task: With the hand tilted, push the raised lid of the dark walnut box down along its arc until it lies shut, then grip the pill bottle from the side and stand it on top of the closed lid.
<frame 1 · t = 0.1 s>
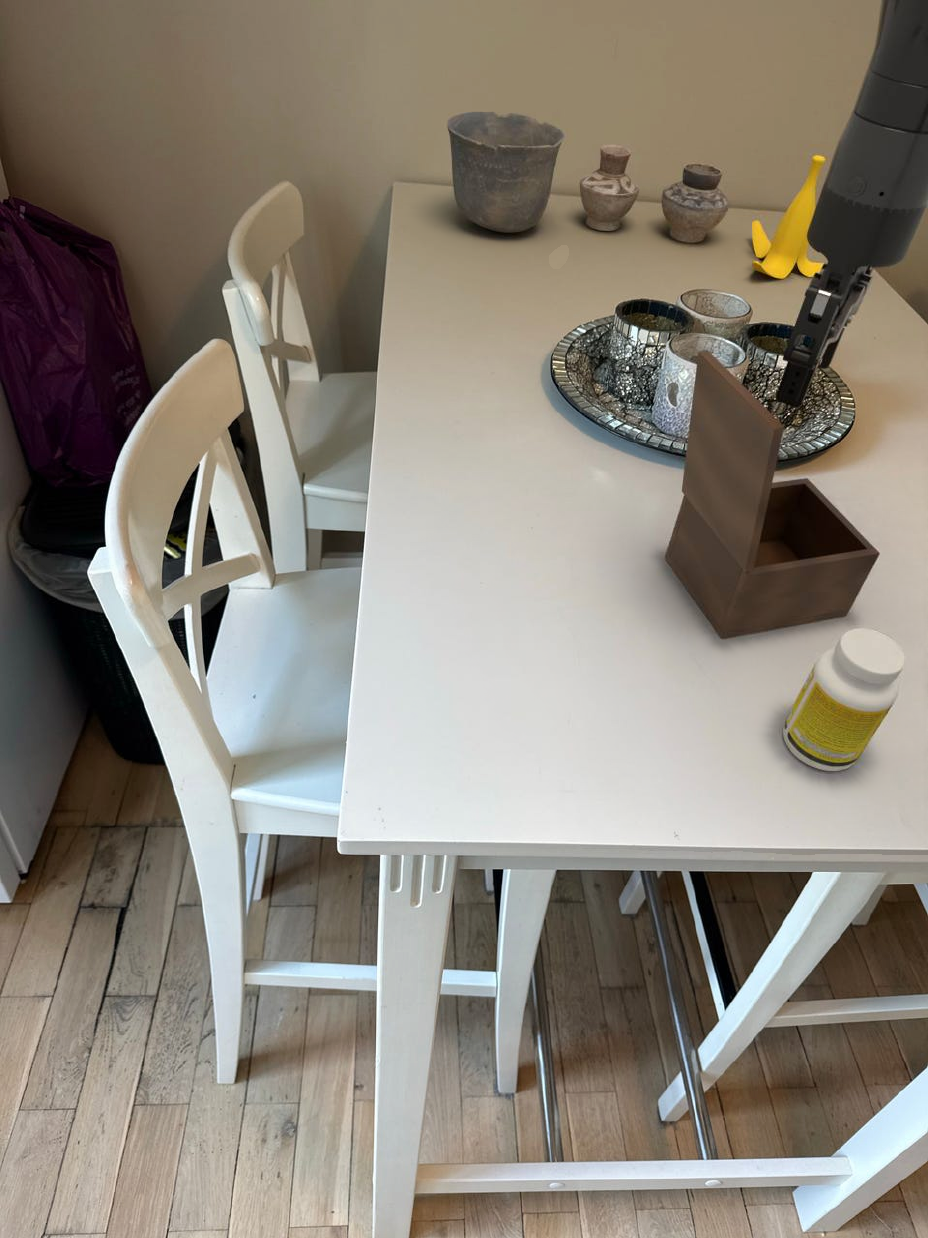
hand: (802, 382, 76), 19 cm above the table, tool pointing down, fingers open, 8 cm apart
pottery: (645, 232, 150), on the table
pill bottle: (817, 744, 72), on the table
banana peel: (775, 271, 142), on the table
chest: (753, 586, 86), on the table
bowl: (494, 228, 146), on the table
lid: (726, 462, 73), point 15 cm above the table, hinge at 100.0°
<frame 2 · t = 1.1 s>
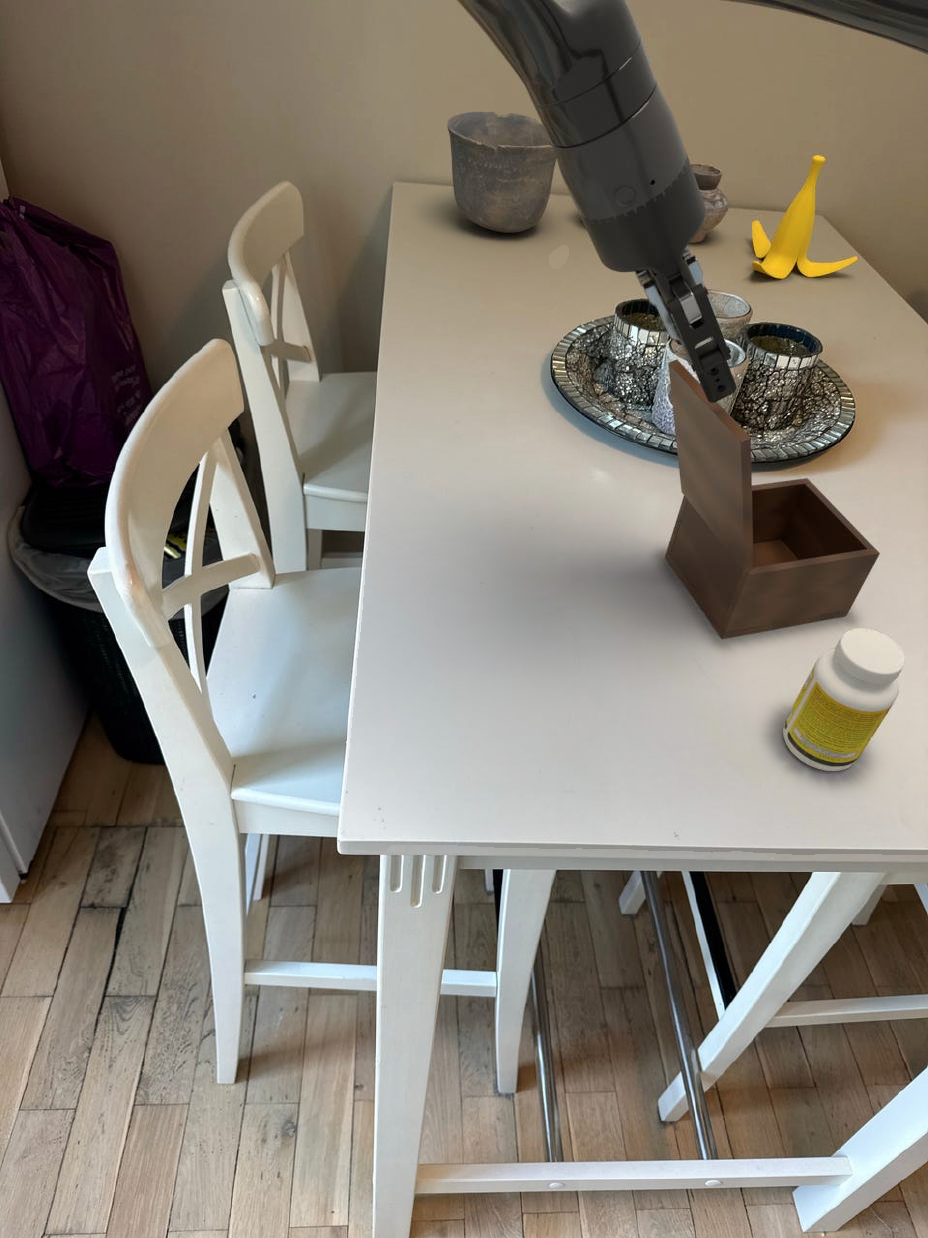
hand: (705, 365, 68), 23 cm above the table, tool tilted 35°, fingers open, 8 cm apart
lid: (711, 468, 73), point 15 cm above the table, hinge at 110.5°
everything else where it was.
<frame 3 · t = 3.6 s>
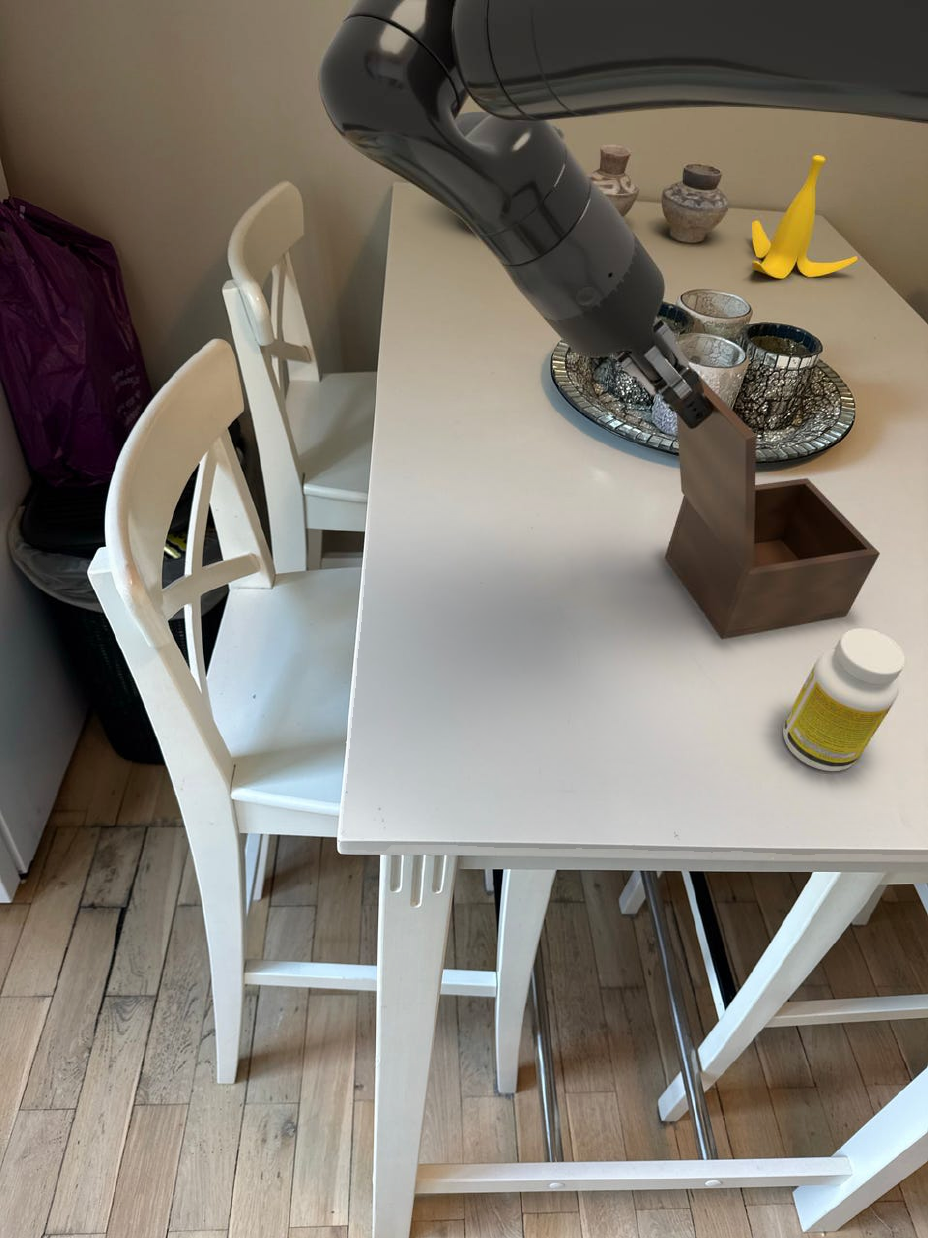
hand: (698, 415, 68), 20 cm above the table, tool tilted 45°, fingers closed
lid: (714, 467, 73), point 15 cm above the table, hinge at 108.8°, touching gripper
everything else where it was.
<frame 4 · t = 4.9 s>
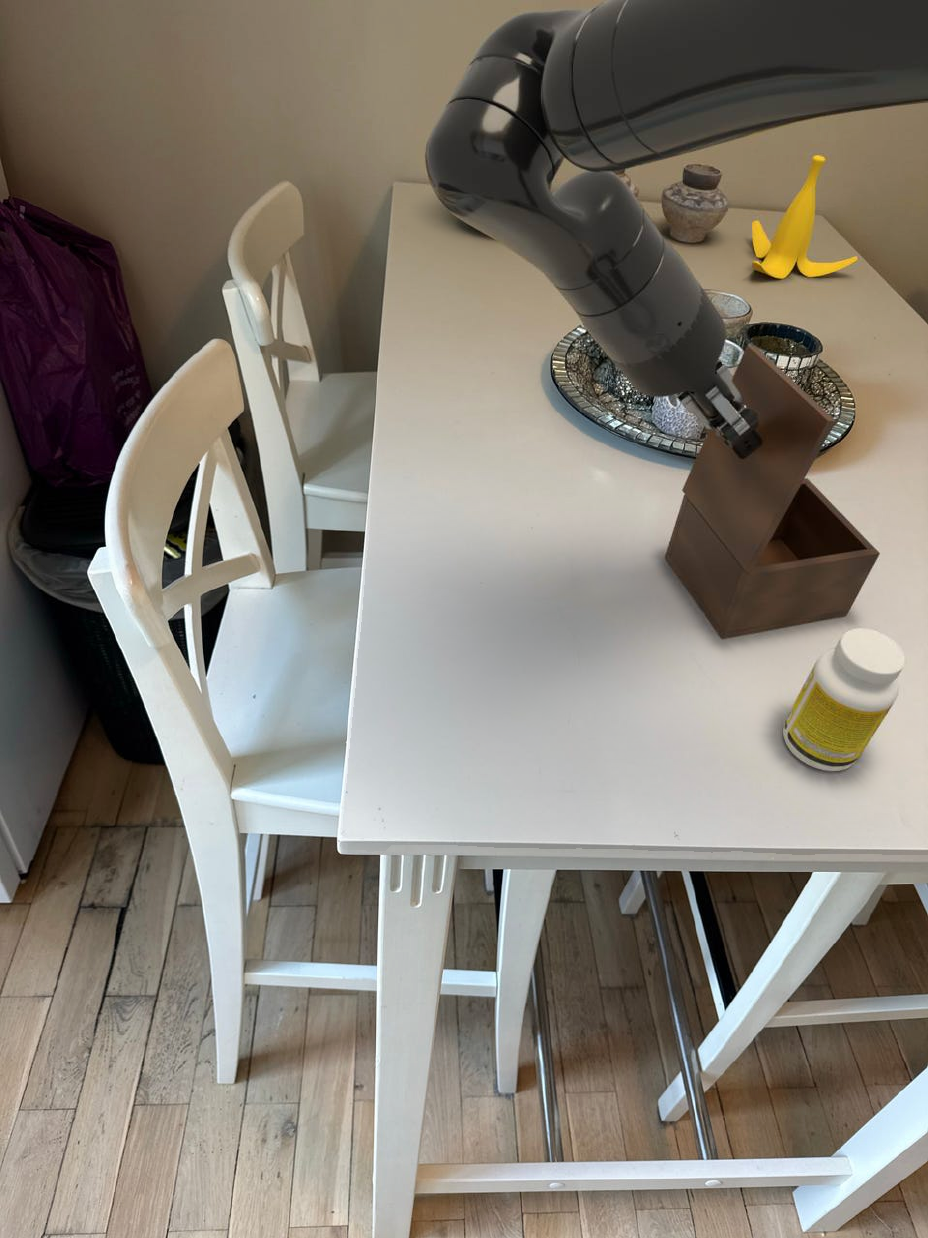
hand: (748, 446, 72), 17 cm above the table, tool tilted 45°, fingers closed
lid: (750, 459, 73), point 15 cm above the table, hinge at 82.1°, touching gripper
everything else where it was.
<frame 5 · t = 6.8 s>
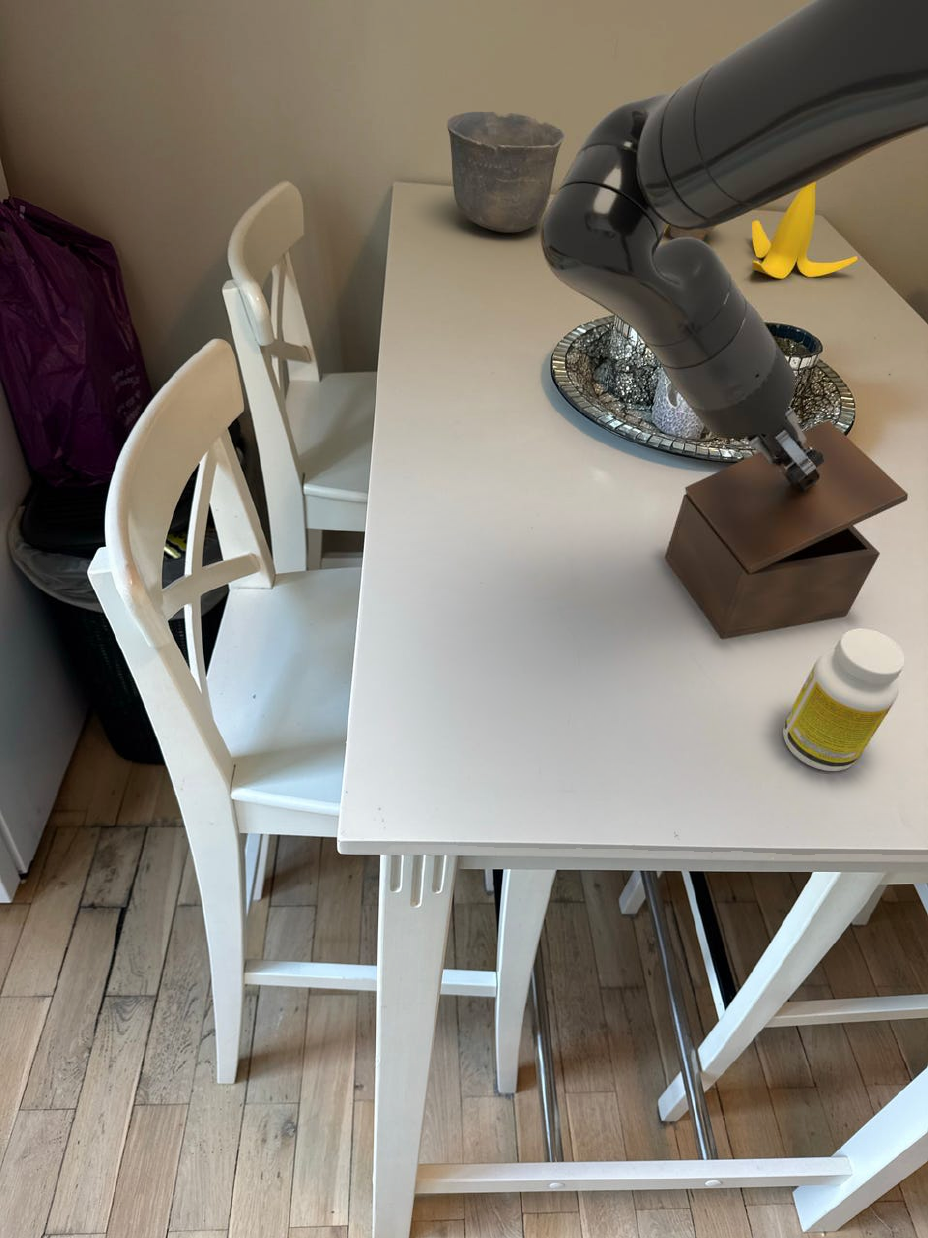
hand: (805, 480, 77), 12 cm above the table, tool tilted 45°, fingers closed
lid: (790, 493, 78), point 11 cm above the table, hinge at 23.4°, touching gripper
everything else where it was.
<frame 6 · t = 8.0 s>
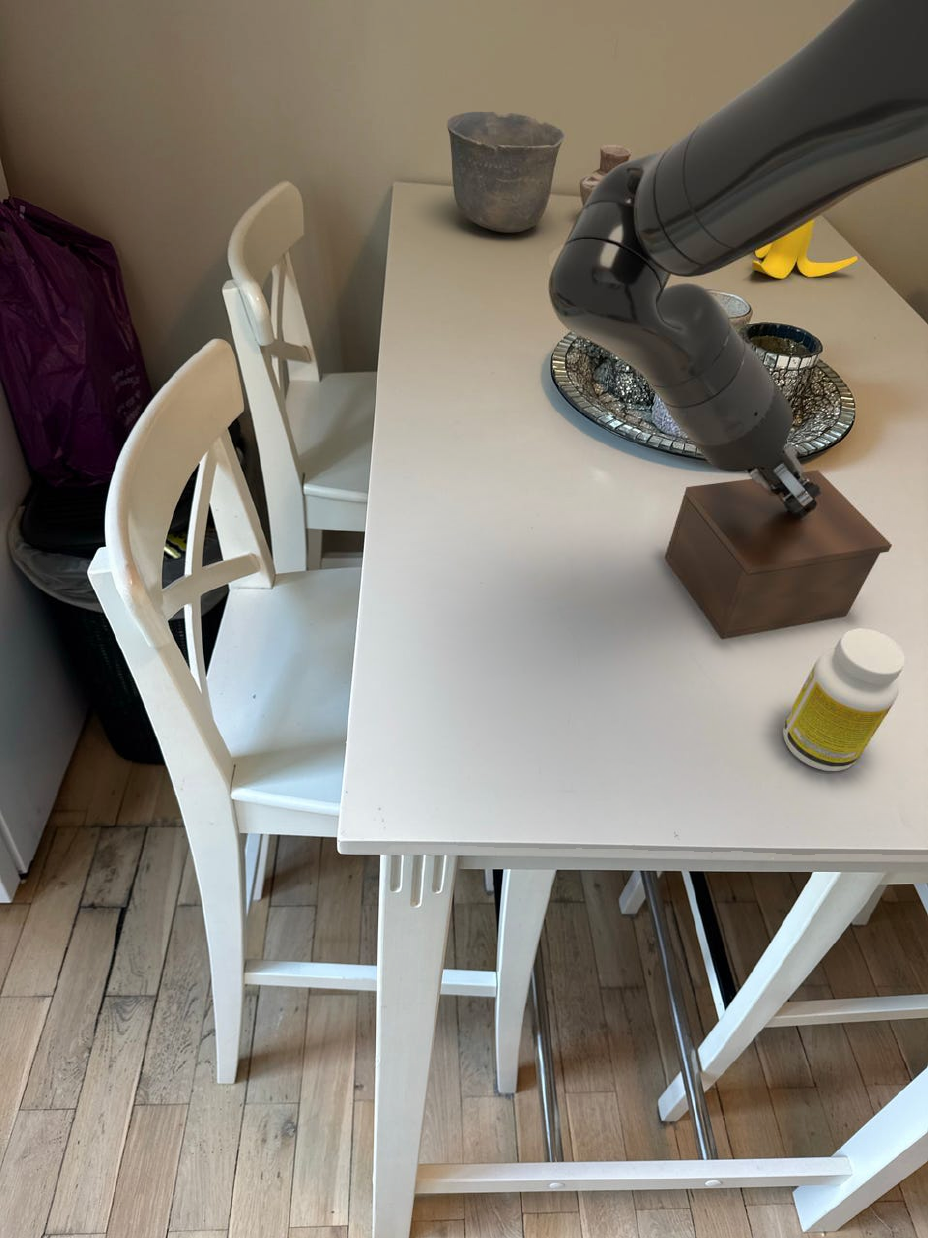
hand: (803, 507, 80), 9 cm above the table, tool tilted 45°, fingers closed
lid: (785, 518, 80), point 8 cm above the table, hinge at -0.2°, touching chest, gripper
everything else where it was.
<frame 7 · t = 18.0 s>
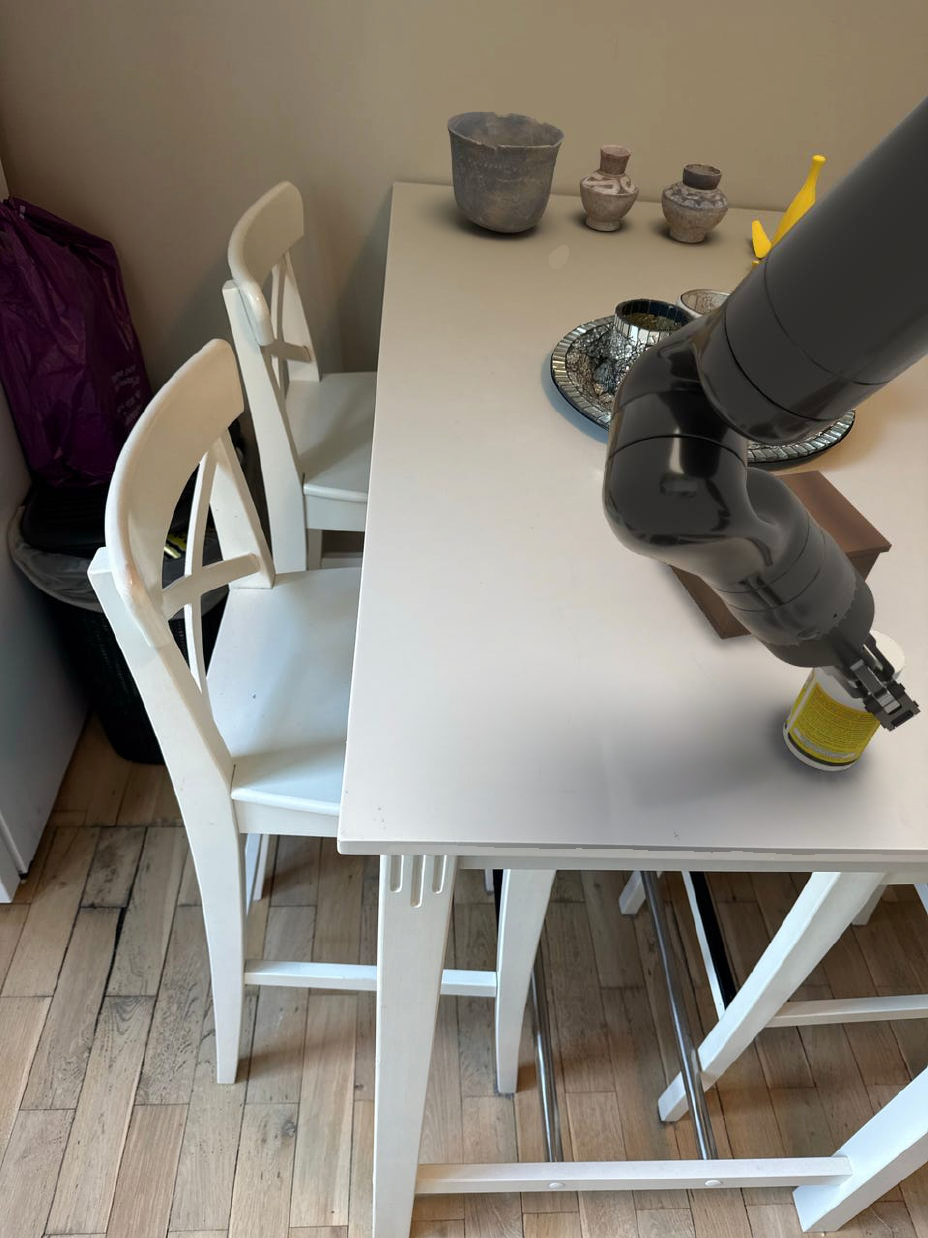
hand: (871, 679, 67), 7 cm above the table, tool tilted 45°, fingers closed on pill bottle, 6 cm apart
pill bottle: (817, 744, 72), on the table, touching gripper
lid: (785, 518, 80), point 8 cm above the table, hinge at -0.2°, touching chest
everything else where it was.
when the fingers open (16 cm above the table, at t = 26.0 s): pill bottle stays where it is, resting on lid.
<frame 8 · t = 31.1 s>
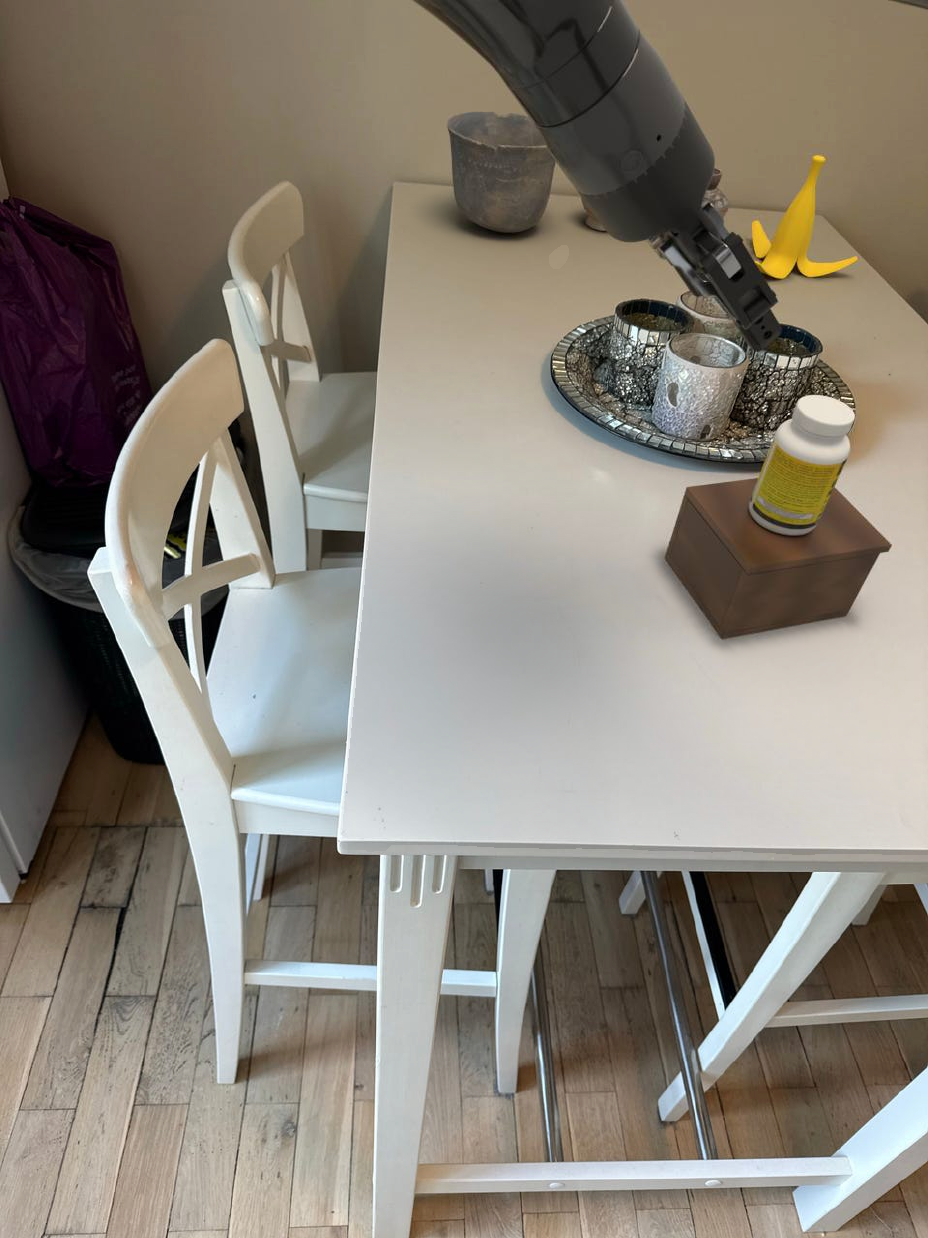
hand: (735, 312, 62), 29 cm above the table, tool tilted 45°, fingers open, 8 cm apart
pill bottle: (780, 518, 80), point 8 cm above the table, touching lid
lid: (785, 518, 80), point 8 cm above the table, hinge at -0.2°, touching chest, pill bottle
everything else where it was.
at the end: lid at +0° (first picture: +100°); pill bottle inside the target area on the chest (0.2 cm from its centre), point 8.4 cm above the chest's base; pottery moved 0.2 cm from its start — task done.
